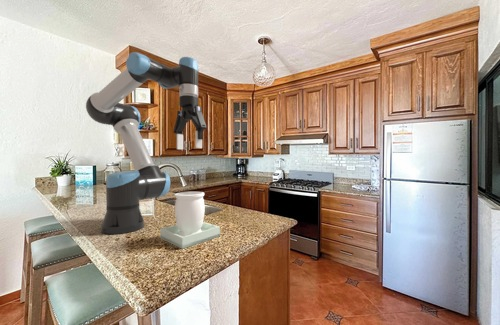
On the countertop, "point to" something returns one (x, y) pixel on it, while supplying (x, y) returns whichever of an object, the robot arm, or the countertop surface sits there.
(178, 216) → the jar
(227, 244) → the countertop surface
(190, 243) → the tray
